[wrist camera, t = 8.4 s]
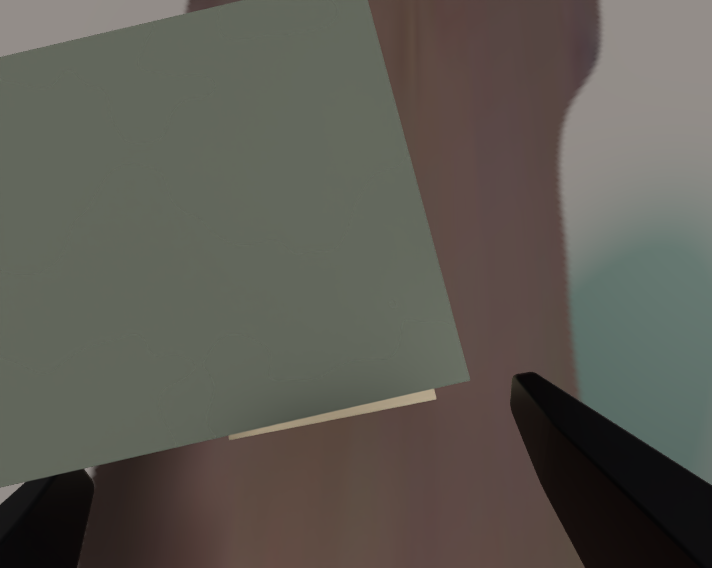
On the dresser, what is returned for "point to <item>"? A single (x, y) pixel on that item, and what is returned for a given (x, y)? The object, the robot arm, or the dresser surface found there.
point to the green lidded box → (207, 235)
